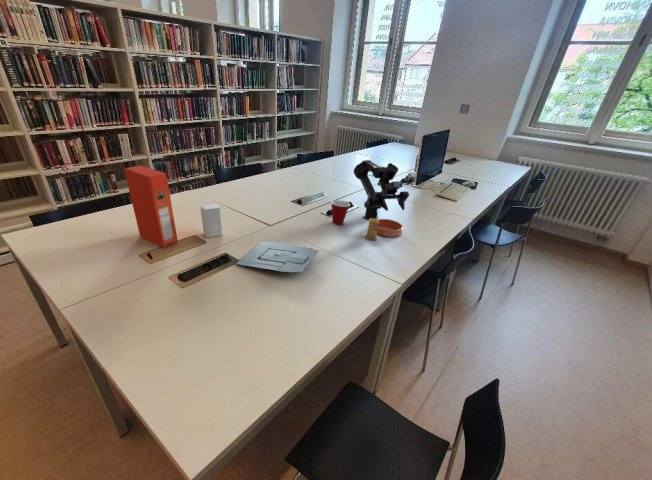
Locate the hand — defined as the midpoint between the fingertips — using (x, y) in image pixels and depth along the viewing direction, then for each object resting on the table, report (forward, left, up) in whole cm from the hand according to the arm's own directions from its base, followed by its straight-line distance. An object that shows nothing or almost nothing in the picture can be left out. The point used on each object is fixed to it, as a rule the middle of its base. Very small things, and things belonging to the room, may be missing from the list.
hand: (395, 210), depth 163 cm
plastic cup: (-30, +1, -15) cm, 33 cm away
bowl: (-3, +5, -14) cm, 15 cm away
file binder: (-95, -66, -15) cm, 117 cm away
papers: (-38, -53, -15) cm, 67 cm away
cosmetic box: (-78, -48, -15) cm, 93 cm away
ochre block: (-8, -9, -14) cm, 19 cm away
